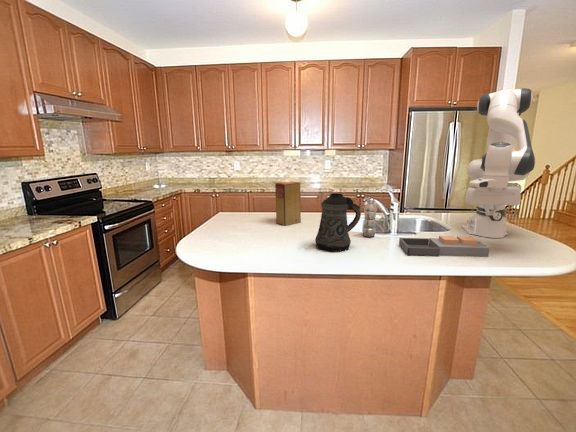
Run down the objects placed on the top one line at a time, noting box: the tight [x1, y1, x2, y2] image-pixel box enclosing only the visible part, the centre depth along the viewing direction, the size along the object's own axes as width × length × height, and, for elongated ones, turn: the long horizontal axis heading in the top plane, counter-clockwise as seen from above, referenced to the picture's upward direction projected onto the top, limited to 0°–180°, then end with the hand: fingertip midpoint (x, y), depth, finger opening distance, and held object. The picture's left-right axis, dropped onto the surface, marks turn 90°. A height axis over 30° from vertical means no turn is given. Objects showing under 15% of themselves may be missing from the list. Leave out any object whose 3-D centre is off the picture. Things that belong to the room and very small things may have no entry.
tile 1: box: [438, 235, 459, 245], centre depth 130 cm, size 6×6×2 cm
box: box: [398, 237, 440, 257], centre depth 132 cm, size 14×13×4 cm
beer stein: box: [315, 192, 362, 253], centre depth 137 cm, size 16×19×25 cm
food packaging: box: [274, 181, 302, 227], centre depth 180 cm, size 13×9×25 cm
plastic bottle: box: [362, 197, 378, 237], centre depth 152 cm, size 6×7×20 cm
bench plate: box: [428, 237, 490, 258], centre depth 130 cm, size 12×20×4 cm, turn 84°
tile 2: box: [455, 235, 479, 245], centre depth 129 cm, size 6×6×2 cm
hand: (490, 215), depth 125 cm, fingers closed
